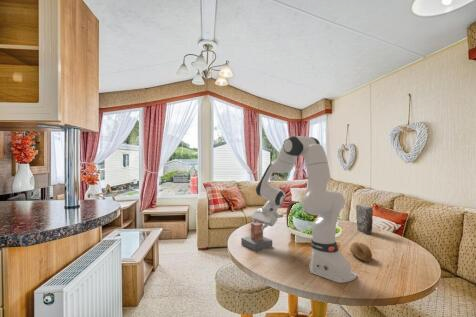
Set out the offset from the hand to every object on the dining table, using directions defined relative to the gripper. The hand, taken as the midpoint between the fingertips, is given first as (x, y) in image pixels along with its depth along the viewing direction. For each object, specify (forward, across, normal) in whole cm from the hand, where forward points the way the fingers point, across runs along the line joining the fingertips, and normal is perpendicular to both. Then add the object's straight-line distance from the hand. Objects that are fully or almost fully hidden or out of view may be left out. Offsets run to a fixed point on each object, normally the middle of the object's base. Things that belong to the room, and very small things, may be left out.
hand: (256, 227), depth 161 cm
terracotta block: (+5, 0, +5) cm, 7 cm away
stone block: (-53, +21, +69) cm, 89 cm away
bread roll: (-18, +47, +35) cm, 61 cm away
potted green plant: (-30, -20, +46) cm, 58 cm away
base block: (+8, 0, +8) cm, 11 cm away
